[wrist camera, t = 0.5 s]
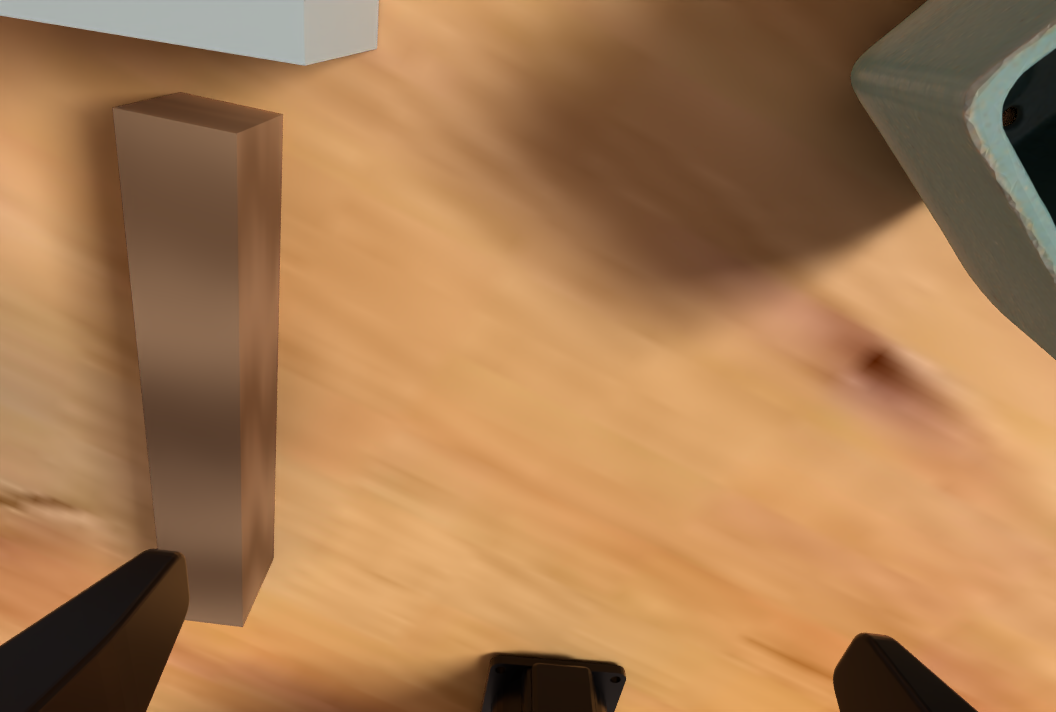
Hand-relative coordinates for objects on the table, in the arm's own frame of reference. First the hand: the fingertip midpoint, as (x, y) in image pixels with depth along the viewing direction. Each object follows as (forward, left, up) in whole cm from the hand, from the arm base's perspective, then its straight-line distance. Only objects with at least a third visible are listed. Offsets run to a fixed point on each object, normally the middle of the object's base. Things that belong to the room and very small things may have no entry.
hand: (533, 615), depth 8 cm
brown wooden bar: (-5, +9, -14) cm, 17 cm away
